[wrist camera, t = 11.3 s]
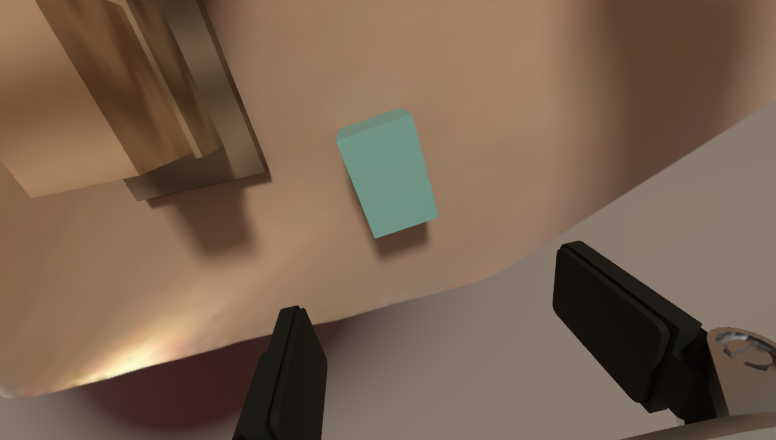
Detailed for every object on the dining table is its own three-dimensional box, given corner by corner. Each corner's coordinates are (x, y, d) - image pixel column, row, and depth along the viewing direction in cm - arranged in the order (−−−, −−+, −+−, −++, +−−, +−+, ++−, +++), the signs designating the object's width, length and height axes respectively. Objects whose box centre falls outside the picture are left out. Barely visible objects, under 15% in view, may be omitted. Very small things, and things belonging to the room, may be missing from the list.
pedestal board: (16, -10, 20) (-84, -38, 16) (183, -46, 20) (133, -84, 16) (145, 196, 27) (103, 220, 23) (268, 169, 27) (251, 186, 23)
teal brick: (339, 129, 27) (335, 141, 21) (399, 107, 27) (411, 114, 21) (371, 211, 31) (374, 238, 25) (424, 193, 31) (439, 217, 25)
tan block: (22, 25, 17) (-130, -2, 12) (121, 5, 17) (16, -31, 12) (113, 168, 21) (31, 198, 16) (193, 152, 21) (139, 175, 16)
